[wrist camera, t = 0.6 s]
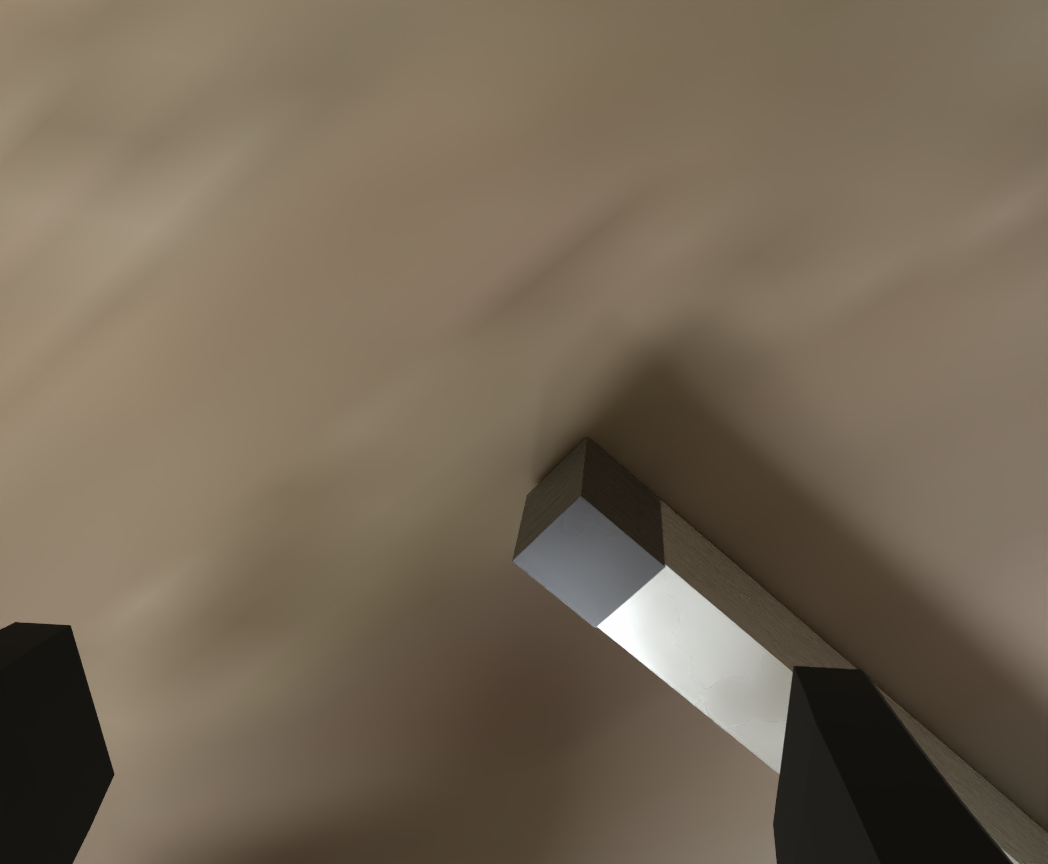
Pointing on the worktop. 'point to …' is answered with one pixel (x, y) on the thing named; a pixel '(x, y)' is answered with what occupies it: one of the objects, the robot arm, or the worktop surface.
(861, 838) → the robot arm
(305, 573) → the worktop surface
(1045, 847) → the hinged tong arm
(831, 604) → the worktop surface
